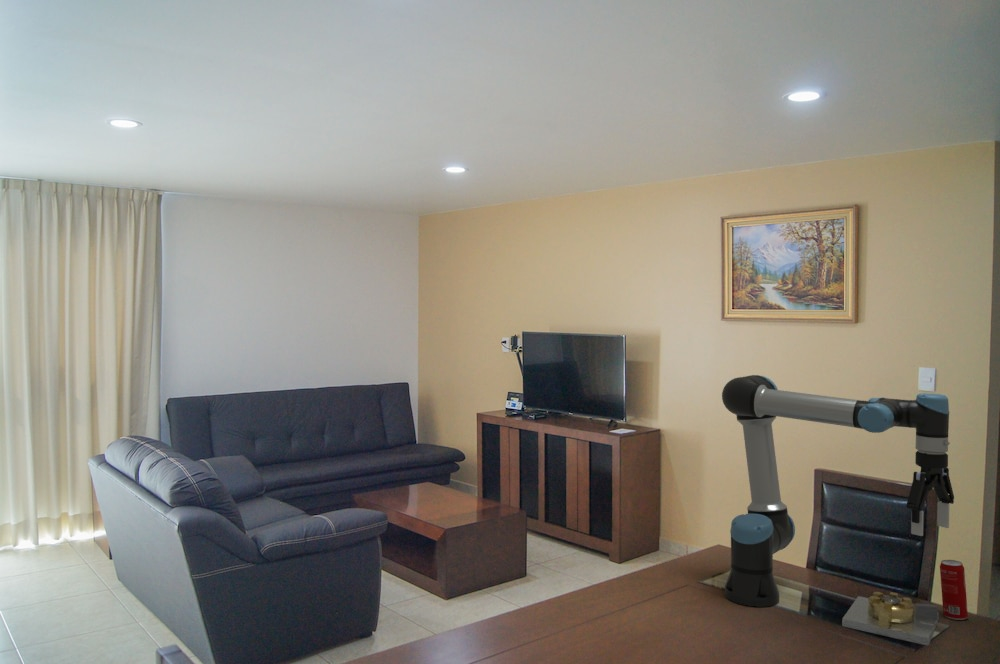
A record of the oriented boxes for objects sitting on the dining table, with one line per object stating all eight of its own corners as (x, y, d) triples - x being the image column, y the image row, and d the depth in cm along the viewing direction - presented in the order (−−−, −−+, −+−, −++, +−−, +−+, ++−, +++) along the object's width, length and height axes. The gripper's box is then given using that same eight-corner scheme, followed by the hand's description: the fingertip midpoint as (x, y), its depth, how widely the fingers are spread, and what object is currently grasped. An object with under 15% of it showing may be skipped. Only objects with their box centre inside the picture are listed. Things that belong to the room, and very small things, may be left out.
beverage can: (971, 621, 197) (971, 566, 197) (944, 619, 198) (945, 564, 198) (962, 613, 203) (962, 559, 203) (936, 611, 204) (936, 558, 204)
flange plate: (842, 626, 195) (842, 605, 195) (858, 603, 211) (858, 584, 211) (930, 646, 182) (930, 624, 182) (940, 620, 198) (940, 600, 198)
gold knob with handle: (872, 603, 204) (872, 587, 204) (917, 612, 198) (917, 596, 198) (859, 622, 191) (859, 606, 191) (907, 633, 184) (907, 616, 184)
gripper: (922, 458, 185) (920, 541, 186) (969, 449, 199) (967, 526, 200) (892, 454, 192) (891, 534, 192) (940, 445, 205) (939, 520, 206)
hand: (930, 530), depth 196 cm, fingers open, 13 cm apart
